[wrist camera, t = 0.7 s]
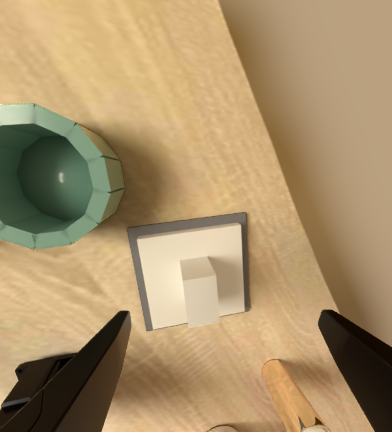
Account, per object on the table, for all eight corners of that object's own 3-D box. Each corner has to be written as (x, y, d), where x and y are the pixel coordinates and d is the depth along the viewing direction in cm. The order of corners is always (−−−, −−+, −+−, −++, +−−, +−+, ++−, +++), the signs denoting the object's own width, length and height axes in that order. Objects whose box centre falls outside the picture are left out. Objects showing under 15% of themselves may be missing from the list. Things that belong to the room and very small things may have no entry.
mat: (248, 309, 25) (249, 311, 24) (146, 328, 23) (146, 331, 23) (244, 212, 22) (245, 212, 21) (127, 227, 20) (126, 228, 20)
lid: (241, 305, 24) (260, 339, 19) (153, 322, 23) (150, 363, 18) (237, 222, 21) (257, 236, 17) (138, 236, 20) (129, 256, 15)
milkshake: (294, 354, 28) (361, 450, 18) (277, 382, 29) (334, 489, 19) (268, 348, 27) (325, 446, 17) (252, 377, 28) (297, 488, 18)
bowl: (131, 222, 20) (120, 237, 15) (28, 235, 19) (-19, 256, 14) (112, 119, 18) (92, 100, 13) (-6, 127, 17) (-78, 108, 12)
